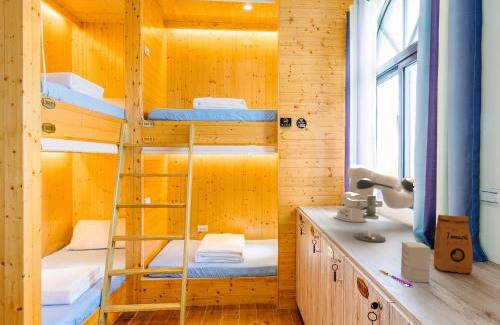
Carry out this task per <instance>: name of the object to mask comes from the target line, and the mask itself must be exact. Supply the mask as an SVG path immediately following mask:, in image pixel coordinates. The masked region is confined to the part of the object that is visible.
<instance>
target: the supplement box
mask: <svg viewBox="0 0 500 325" xmlns="http://www.w3.org/2000/svg"><path fill="white" fill-rule="evenodd" d="M400 257H401V258H400V259H401V260H400V263H401V264H400V274H401V276H402V277H403V278H404V277H405V278H406V279H407V280H408V281H407V280H406V281H407V282H409V281H412V282H411V283H426V282H429V283H430V271H431V270H430V268H431V247H430V246H428V245H426V244H424V243H423V242H421V241H419V242H416V241H401V256H400ZM405 278H404V279H405Z"/></svg>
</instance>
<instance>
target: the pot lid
mask: <svg viewBox="0 0 500 325" xmlns="http://www.w3.org/2000/svg"><path fill="white" fill-rule="evenodd" d="M353 236H354V239H355V238H356V239H355V240H357V239H358V240H357V241H361V242H366V243H375V244H378V243H379V244H380V243H385V242H386V239H387V238H386V237H385V236H383V235H380V234H376V233H372V231H370V230H368V231H367V232H356V233H354V234H353Z"/></svg>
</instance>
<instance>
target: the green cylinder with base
mask: <svg viewBox="0 0 500 325" xmlns="http://www.w3.org/2000/svg"><path fill="white" fill-rule="evenodd" d="M376 199H377V195H373V196H372V195H367V203H368V207H366V210H365V214H364V215H363V218H366V220H378V219H379V215H377V214H376V208H377V207H376Z"/></svg>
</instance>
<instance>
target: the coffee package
mask: <svg viewBox="0 0 500 325" xmlns="http://www.w3.org/2000/svg"><path fill="white" fill-rule="evenodd" d="M468 222H469V216H465V215H461V216H460V215H445V214H438V216H437V219H436V226H435V231H434V248H433V253H434V254H433V266H434V267H436V268H437V269H438V270H440V271H443V272H448V271H450V272H451V273H456V272H458V273H457V274H466V273H472V272H473V259H474V258H473V256H474V251H473V249H474V248H473V240H472V235H471V232H470V227H469V223H468Z"/></svg>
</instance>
